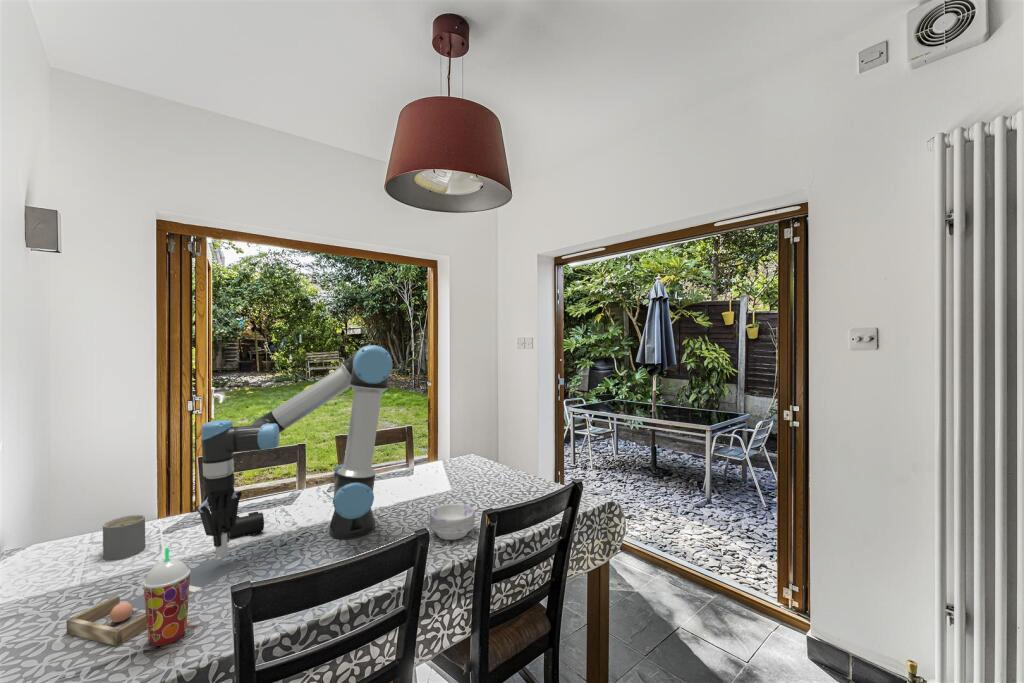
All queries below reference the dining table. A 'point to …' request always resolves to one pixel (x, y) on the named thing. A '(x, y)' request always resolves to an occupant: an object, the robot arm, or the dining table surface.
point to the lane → (198, 577)
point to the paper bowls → (452, 520)
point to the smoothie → (166, 600)
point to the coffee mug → (123, 537)
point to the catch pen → (101, 633)
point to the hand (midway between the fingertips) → (222, 555)
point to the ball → (121, 612)
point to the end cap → (247, 525)
